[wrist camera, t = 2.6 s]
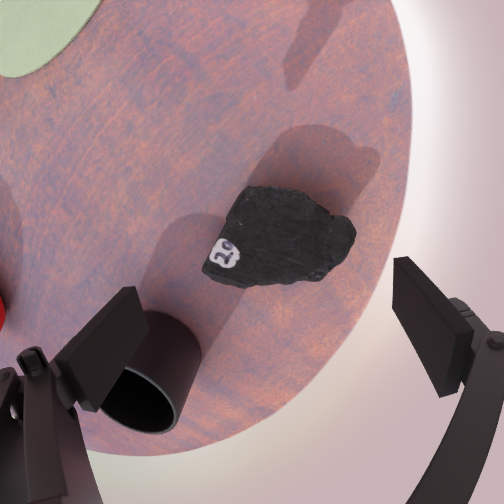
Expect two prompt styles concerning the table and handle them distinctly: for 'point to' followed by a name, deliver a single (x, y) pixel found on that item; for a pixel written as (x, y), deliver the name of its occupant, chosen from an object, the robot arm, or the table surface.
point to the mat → (38, 31)
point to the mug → (155, 378)
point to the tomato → (2, 313)
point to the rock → (277, 240)
